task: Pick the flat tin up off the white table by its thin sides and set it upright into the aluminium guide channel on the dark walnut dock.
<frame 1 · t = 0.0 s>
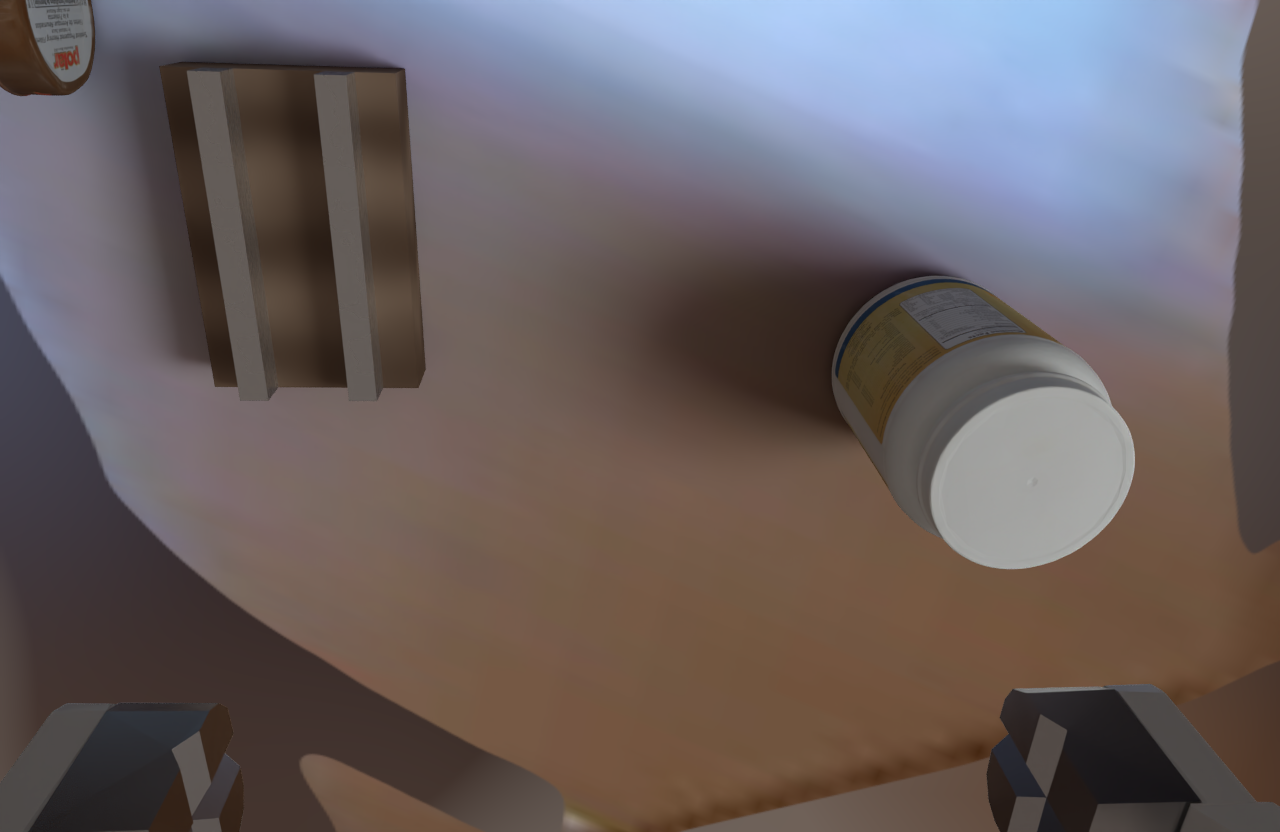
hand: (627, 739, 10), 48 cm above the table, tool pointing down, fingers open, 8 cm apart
supplement tub: (916, 357, 61), on the table
dock: (313, 227, 55), on the table
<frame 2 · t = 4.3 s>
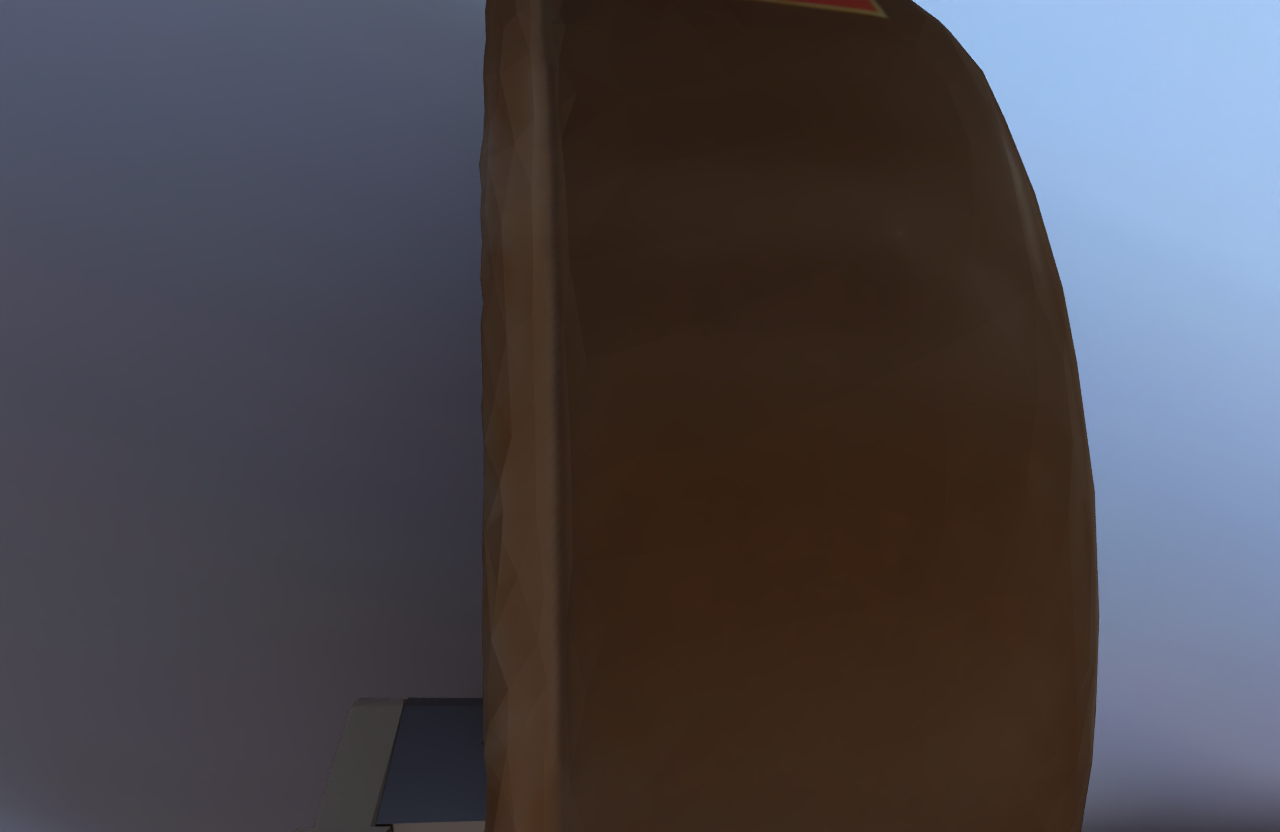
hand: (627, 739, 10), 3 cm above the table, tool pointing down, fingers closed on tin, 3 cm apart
tin: (619, 560, 13), on the table, touching gripper
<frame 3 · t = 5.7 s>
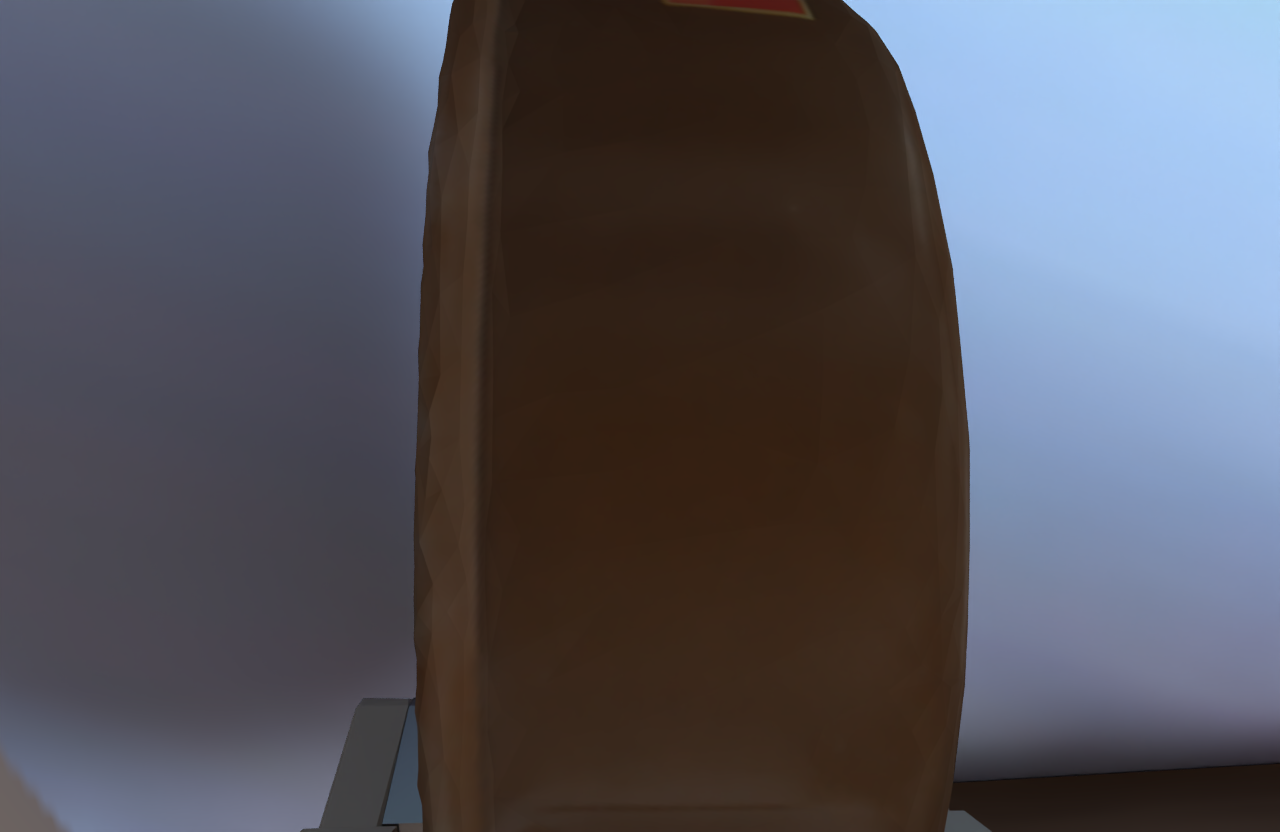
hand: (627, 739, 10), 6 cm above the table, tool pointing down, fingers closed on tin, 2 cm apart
tin: (642, 538, 13), point 2 cm above the table, touching gripper
when the fingers open (7 cm above the table, at t = 10.7 s): tin stays where it is, resting on dock.
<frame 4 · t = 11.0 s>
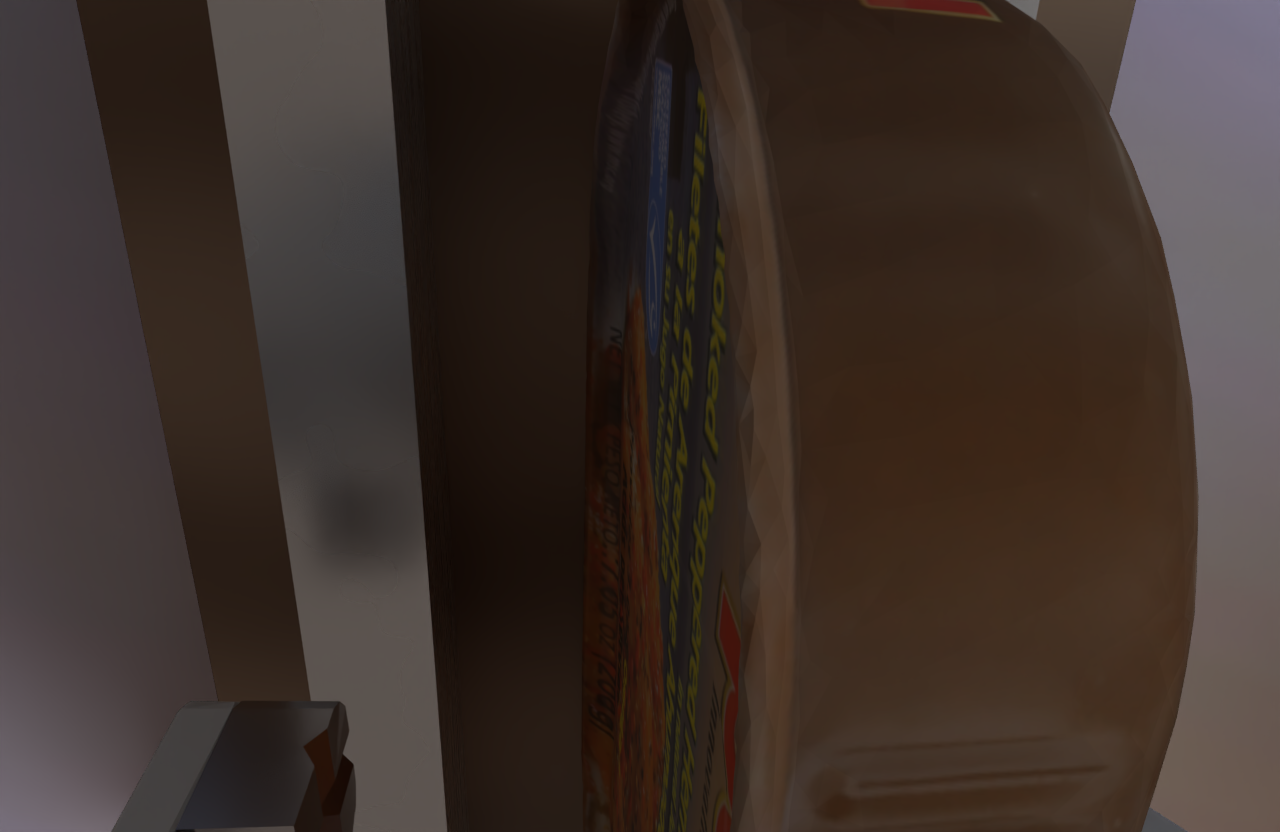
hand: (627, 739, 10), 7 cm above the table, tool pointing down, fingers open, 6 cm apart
tin: (689, 525, 14), point 3 cm above the table, touching dock
dock: (604, 443, 16), on the table
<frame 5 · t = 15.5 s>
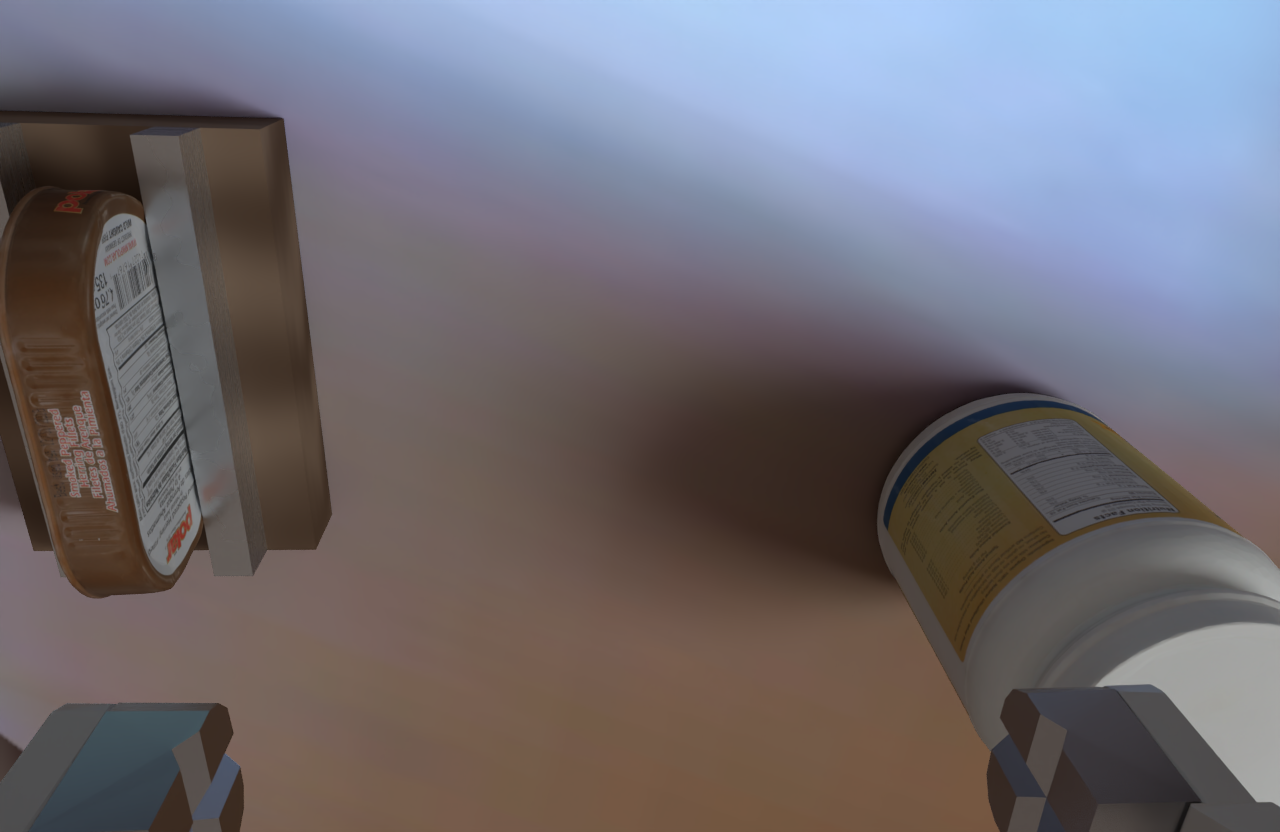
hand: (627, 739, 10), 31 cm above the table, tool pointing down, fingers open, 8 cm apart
tin: (168, 357, 37), point 3 cm above the table, touching dock
supplement tub: (989, 493, 46), on the table
dock: (166, 333, 40), on the table
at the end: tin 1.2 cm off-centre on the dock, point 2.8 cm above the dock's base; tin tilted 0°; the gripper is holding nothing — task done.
